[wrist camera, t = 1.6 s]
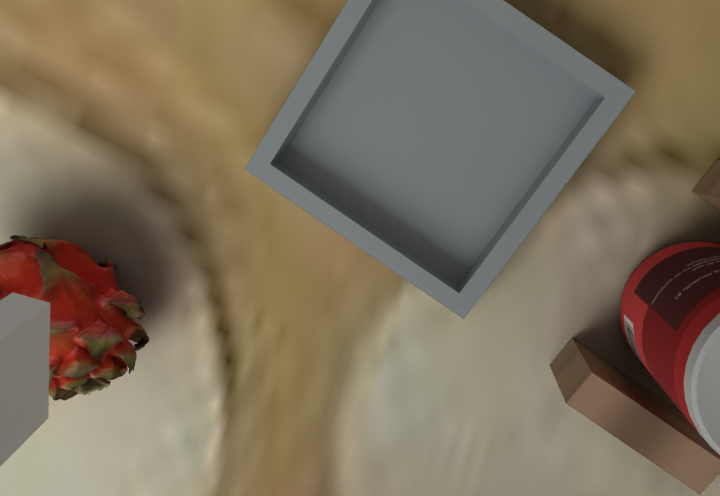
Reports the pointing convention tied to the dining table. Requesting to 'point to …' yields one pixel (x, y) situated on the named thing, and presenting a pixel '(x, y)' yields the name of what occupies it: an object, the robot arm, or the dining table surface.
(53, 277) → the dragon fruit
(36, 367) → the robot arm
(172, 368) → the dining table surface
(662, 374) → the canned food
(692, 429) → the tan block
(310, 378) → the dining table surface
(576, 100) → the tray
